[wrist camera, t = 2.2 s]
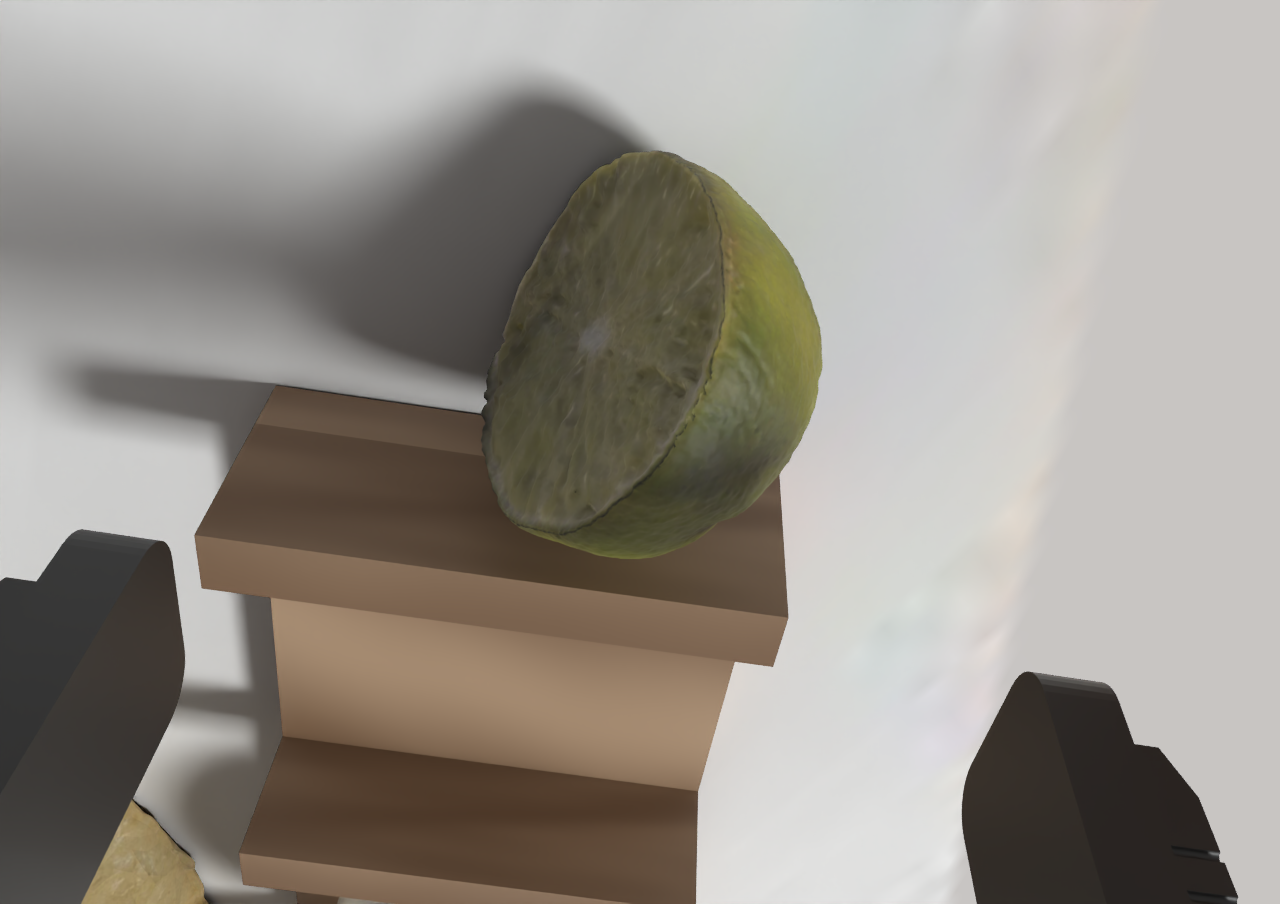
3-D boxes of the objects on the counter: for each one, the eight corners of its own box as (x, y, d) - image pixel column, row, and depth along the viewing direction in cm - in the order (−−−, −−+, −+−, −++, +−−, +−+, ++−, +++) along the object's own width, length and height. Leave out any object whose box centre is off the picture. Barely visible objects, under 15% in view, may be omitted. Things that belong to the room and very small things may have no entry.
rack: (275, 385, 18) (194, 535, 15) (778, 458, 18) (788, 618, 15) (314, 921, 28) (269, 1071, 25) (640, 962, 28) (631, 1115, 25)
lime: (504, 398, 18) (443, 634, 14) (484, 96, 15) (400, 287, 11) (790, 412, 18) (810, 654, 14) (827, 109, 15) (866, 307, 11)
